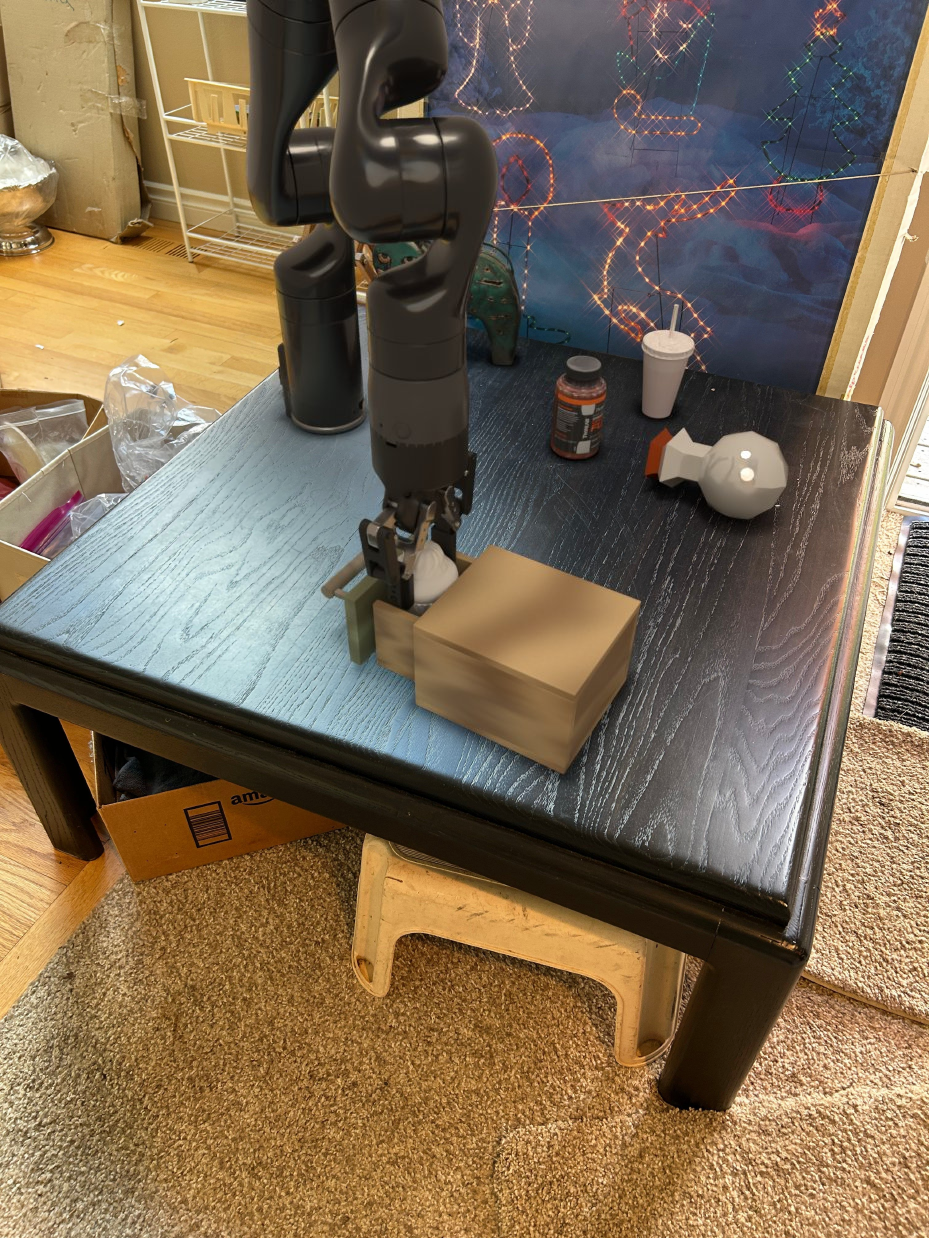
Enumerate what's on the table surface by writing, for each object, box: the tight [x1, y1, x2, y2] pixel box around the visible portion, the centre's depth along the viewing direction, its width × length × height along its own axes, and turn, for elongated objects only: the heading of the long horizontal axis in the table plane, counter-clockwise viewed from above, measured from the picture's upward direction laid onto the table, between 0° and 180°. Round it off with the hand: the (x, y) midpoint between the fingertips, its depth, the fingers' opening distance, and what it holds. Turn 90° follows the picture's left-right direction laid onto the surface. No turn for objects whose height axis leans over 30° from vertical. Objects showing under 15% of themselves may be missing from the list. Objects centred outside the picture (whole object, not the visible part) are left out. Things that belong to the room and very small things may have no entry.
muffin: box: [398, 539, 458, 617], centre depth 79 cm, size 6×6×7 cm
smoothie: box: [641, 303, 695, 419], centre depth 113 cm, size 6×6×14 cm
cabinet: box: [413, 543, 642, 775], centre depth 77 cm, size 15×13×10 cm
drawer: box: [320, 532, 477, 683], centre depth 81 cm, size 18×11×8 cm, turn 59°
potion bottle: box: [644, 427, 790, 520], centre depth 100 cm, size 9×10×15 cm
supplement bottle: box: [550, 355, 608, 460], centre depth 107 cm, size 6×6×11 cm
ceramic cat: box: [371, 240, 522, 366], centre depth 122 cm, size 20×6×20 cm, turn 81°
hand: (422, 582), depth 79 cm, fingers closed on muffin, 6 cm apart
